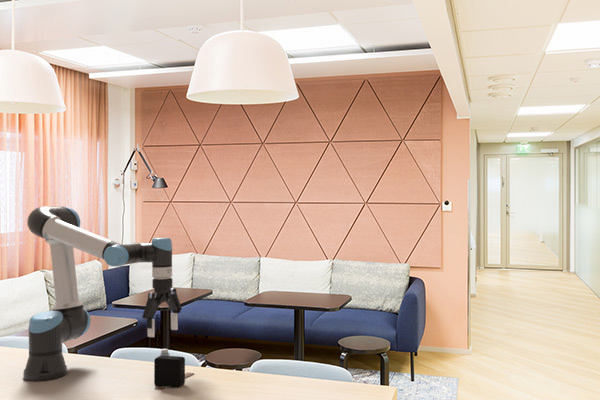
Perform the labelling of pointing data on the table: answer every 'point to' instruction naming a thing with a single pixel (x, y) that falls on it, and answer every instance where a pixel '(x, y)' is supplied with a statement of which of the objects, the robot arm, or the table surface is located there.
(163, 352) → the marker peg
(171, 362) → the electronic device
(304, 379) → the table surface
